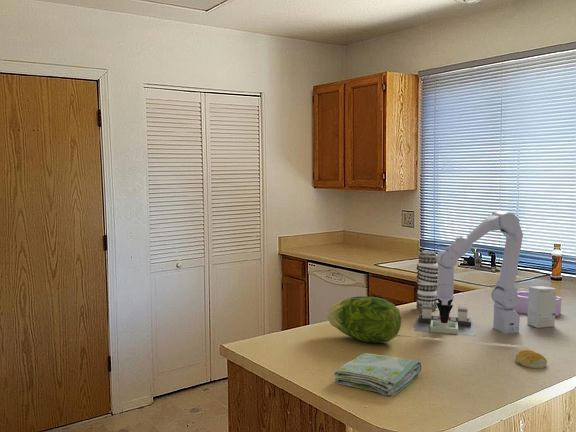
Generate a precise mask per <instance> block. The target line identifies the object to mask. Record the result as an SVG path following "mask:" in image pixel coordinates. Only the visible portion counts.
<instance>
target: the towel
mask: <svg viewBox="0 0 576 432" xmlns="http://www.w3.org/2000/svg"><path fill="white" fill-rule="evenodd" d="M421 372H422V362H421V361H419V360H415V359H412V358H411V359H410V358H409V359H408V358H401V357H396V356H395V357H394V356H391V355H390V356H389V355H381V354H375V353H368V352H365V353H364V352H363V353H361V354H359V355H358V356H357V357H355V358H354V359H352V360H349V361H348V362H346V363H345V364H343V365H342V366H341V367H339V368H337V369H336V370H335V371H334V372H333V376H334V377H335V379H334V382H335V383H337V384H338V385H342V386H348V387H353V388H357V389H360V390H366V391H372V392H375V393H379V394H381V395H382V396H389V397H394V396H396V395H397V394H399V393H400V392H401V391H402V390H404V389H405V388H406V387H408V385H410V384H412V382H414V380H416V379H417V378H418V377H419V375H420V373H421Z"/></svg>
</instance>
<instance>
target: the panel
mask: <svg viewBox="0 0 576 432" xmlns="http://www.w3.org/2000/svg"><path fill="white" fill-rule="evenodd" d="M414 325H415V326H414V330H413V331H414V332H421V333H432V334H447V335H458V336H468V337H469V336H470V337H475V336H476V334H475V333H476V332H475V327H474V322H473V321H472V319H471V317H470V318H469V317H467V321H458V316H456V317H455V316H449V328H446V327H439V315H432V319H429V318H422V314H418V317H416V320H415V324H414Z"/></svg>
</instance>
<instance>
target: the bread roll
mask: <svg viewBox="0 0 576 432" xmlns="http://www.w3.org/2000/svg"><path fill="white" fill-rule="evenodd" d="M514 361H515V362H516V364H518V365H521V366H523V367H524V368H529V369H543V368H545V367H546V366H547V364H548V360H547V358H546V357H545V356H544V355H542V354H541V353H539V352H536V351H533V350H531V349H523V350H520V351H518V352H517V353H516V355H515V360H514Z"/></svg>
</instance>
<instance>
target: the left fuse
mask: <svg viewBox="0 0 576 432" xmlns="http://www.w3.org/2000/svg"><path fill="white" fill-rule="evenodd" d="M421 311H422V314H421V315H422V318H429V319H432V316H433V315H432V313H433V311H432V305H425V304H423V308H422V310H421Z"/></svg>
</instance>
